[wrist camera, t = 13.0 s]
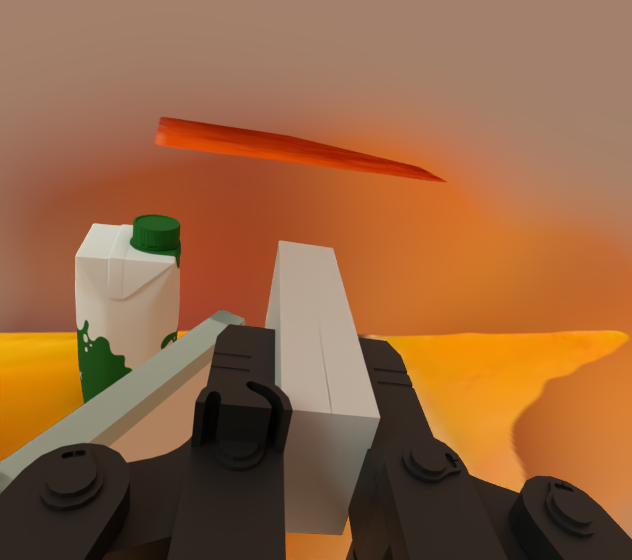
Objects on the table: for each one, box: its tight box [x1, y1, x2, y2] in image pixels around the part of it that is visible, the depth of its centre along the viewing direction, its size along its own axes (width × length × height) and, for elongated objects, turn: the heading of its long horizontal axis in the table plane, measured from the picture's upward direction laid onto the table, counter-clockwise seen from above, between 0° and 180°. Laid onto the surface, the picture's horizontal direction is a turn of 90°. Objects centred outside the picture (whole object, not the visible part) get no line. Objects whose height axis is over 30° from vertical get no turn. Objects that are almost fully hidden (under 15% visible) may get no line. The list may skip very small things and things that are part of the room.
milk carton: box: [75, 215, 181, 404], centre depth 45 cm, size 9×9×20 cm
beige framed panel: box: [0, 310, 245, 494], centre depth 31 cm, size 19×2×16 cm, turn 157°
